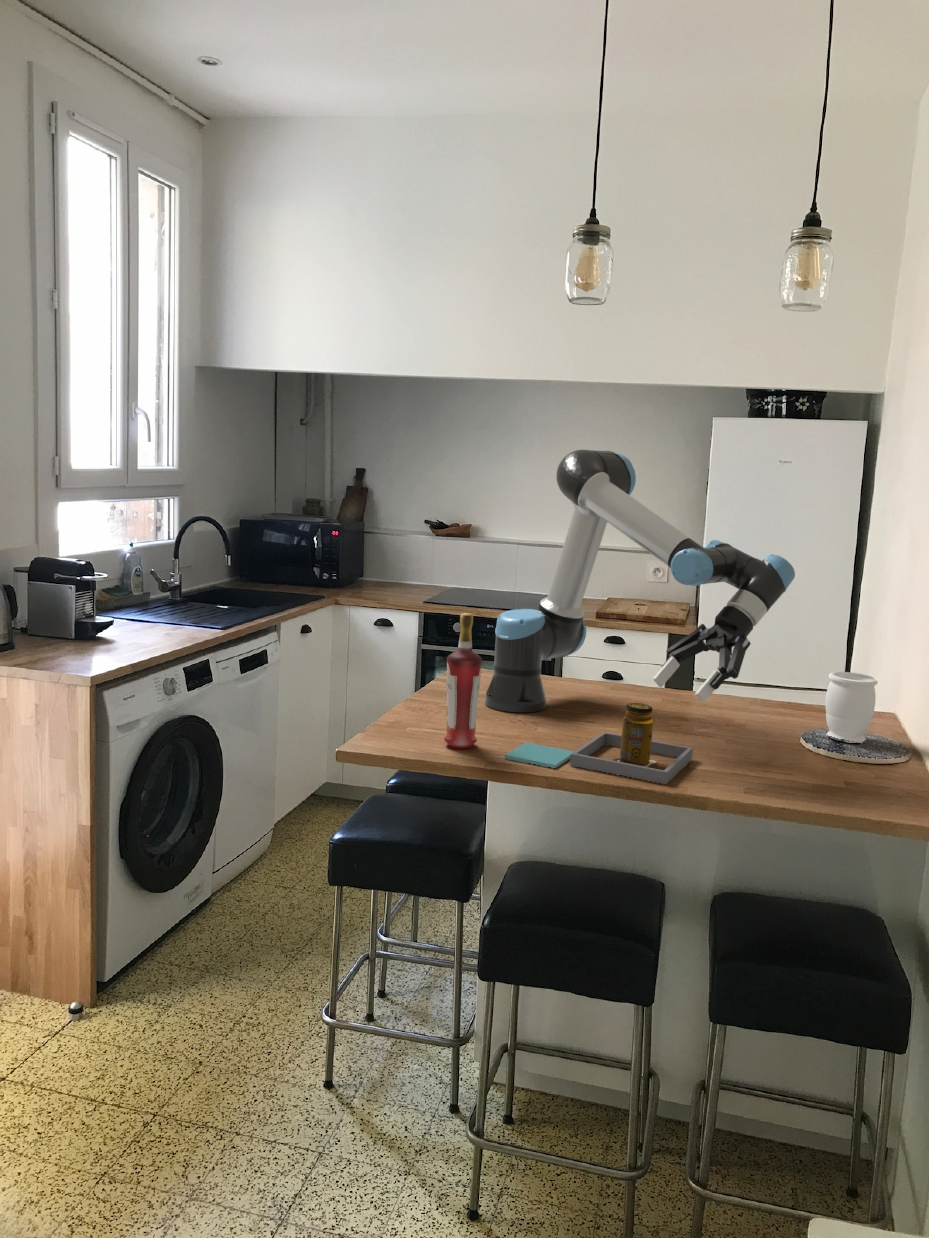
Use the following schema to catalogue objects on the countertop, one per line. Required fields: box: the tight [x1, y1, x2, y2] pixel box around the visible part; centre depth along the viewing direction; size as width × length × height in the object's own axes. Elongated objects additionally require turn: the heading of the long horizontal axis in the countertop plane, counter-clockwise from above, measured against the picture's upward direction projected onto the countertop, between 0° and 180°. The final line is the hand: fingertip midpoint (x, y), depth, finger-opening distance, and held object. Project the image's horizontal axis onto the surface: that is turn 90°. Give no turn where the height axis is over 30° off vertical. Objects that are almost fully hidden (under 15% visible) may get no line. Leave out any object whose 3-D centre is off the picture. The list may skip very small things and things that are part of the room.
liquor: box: [443, 613, 483, 750], centre depth 201 cm, size 7×7×28 cm
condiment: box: [611, 702, 658, 767], centre depth 197 cm, size 7×8×12 cm
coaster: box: [504, 742, 575, 769], centre depth 198 cm, size 11×11×1 cm
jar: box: [825, 671, 879, 742], centre depth 223 cm, size 11×10×15 cm
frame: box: [569, 731, 694, 785], centre depth 198 cm, size 20×20×2 cm
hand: (677, 690), depth 200 cm, fingers open, 13 cm apart
